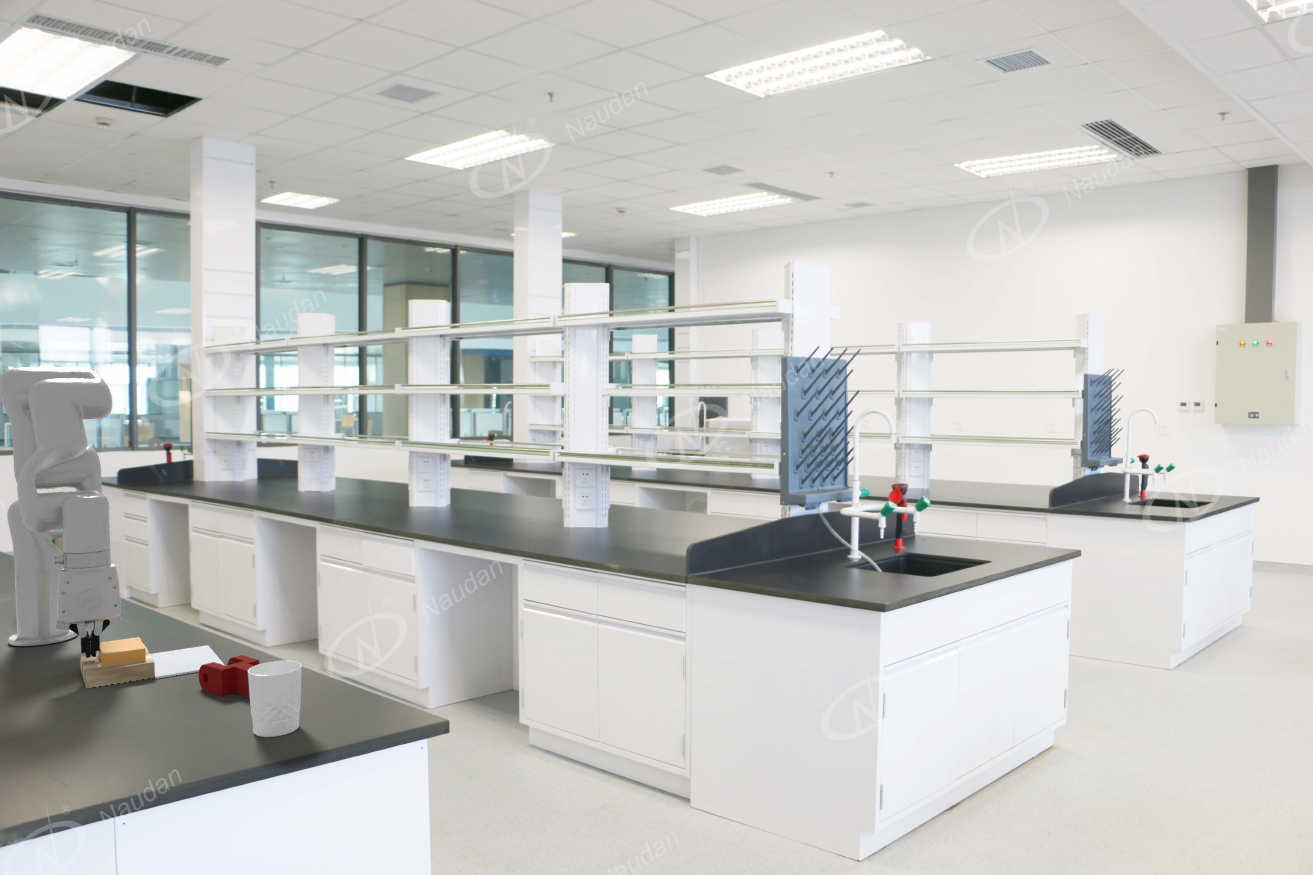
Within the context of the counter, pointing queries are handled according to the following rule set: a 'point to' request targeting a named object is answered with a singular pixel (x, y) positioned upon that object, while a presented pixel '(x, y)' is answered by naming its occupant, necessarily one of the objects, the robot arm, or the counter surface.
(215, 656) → the mat
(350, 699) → the counter surface
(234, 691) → the mechanical linkage
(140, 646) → the slab
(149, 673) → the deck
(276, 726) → the white cup
